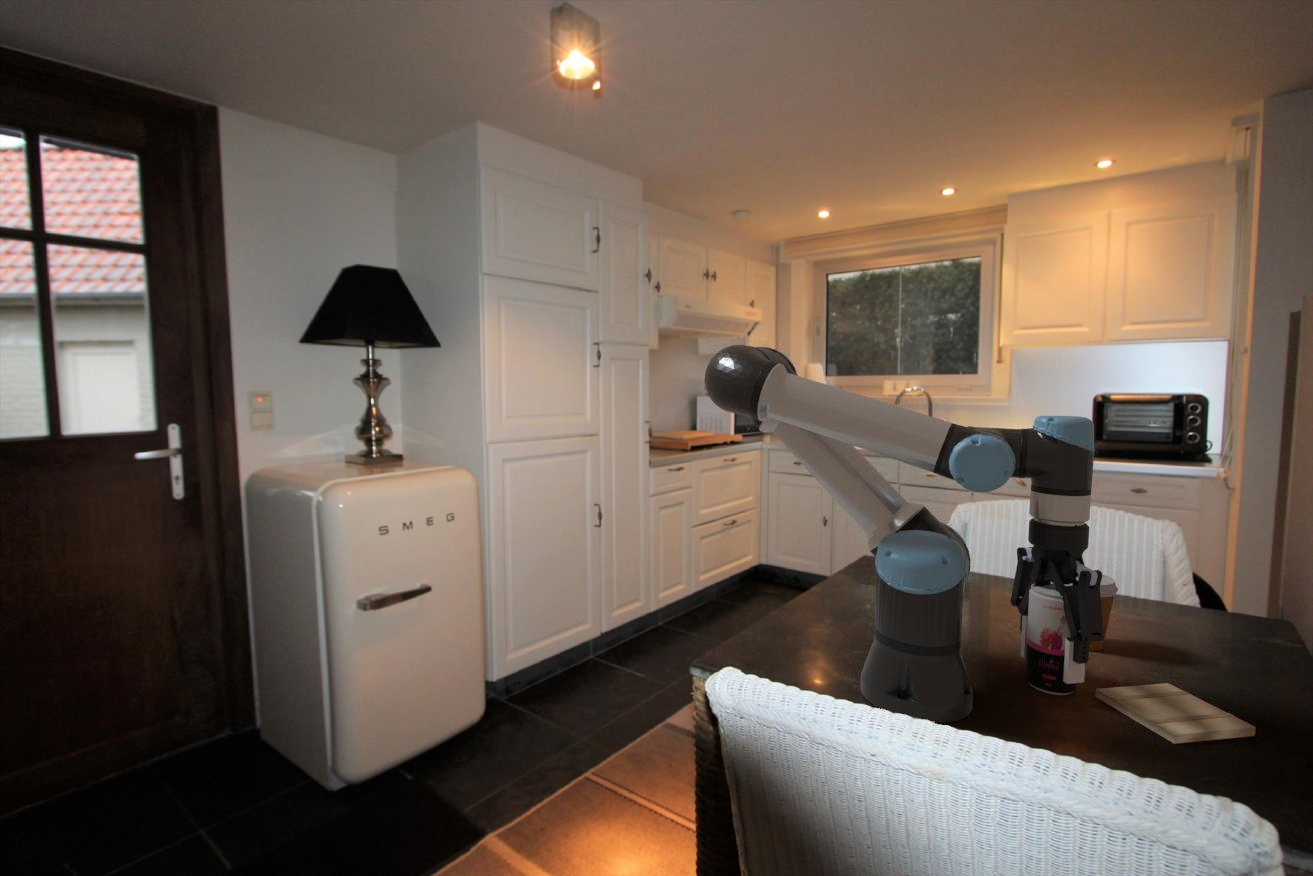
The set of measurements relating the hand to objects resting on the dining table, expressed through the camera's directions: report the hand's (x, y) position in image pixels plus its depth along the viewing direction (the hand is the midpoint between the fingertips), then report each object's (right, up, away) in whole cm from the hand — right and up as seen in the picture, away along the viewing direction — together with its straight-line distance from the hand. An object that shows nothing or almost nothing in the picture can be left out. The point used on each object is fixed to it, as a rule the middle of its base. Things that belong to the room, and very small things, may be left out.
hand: (1050, 668), depth 94 cm
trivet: (+11, -3, -8) cm, 14 cm away
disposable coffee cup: (+15, -2, +15) cm, 22 cm away
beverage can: (0, -3, 0) cm, 3 cm away
